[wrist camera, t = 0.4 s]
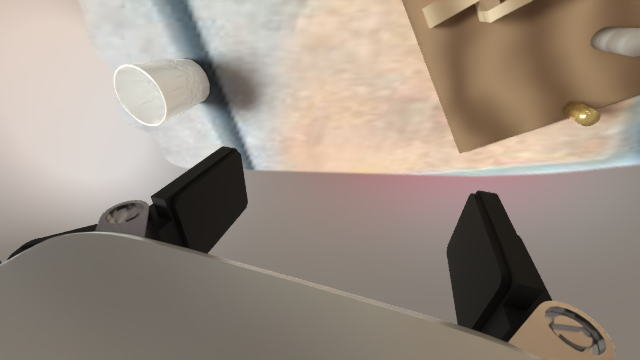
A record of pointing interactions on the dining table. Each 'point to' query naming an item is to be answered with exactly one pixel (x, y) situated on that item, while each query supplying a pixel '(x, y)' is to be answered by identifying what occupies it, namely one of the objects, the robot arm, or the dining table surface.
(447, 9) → the square frame with tab
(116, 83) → the white cup
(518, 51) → the board
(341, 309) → the robot arm
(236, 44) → the dining table surface
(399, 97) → the dining table surface
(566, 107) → the dowel pin
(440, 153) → the dining table surface
